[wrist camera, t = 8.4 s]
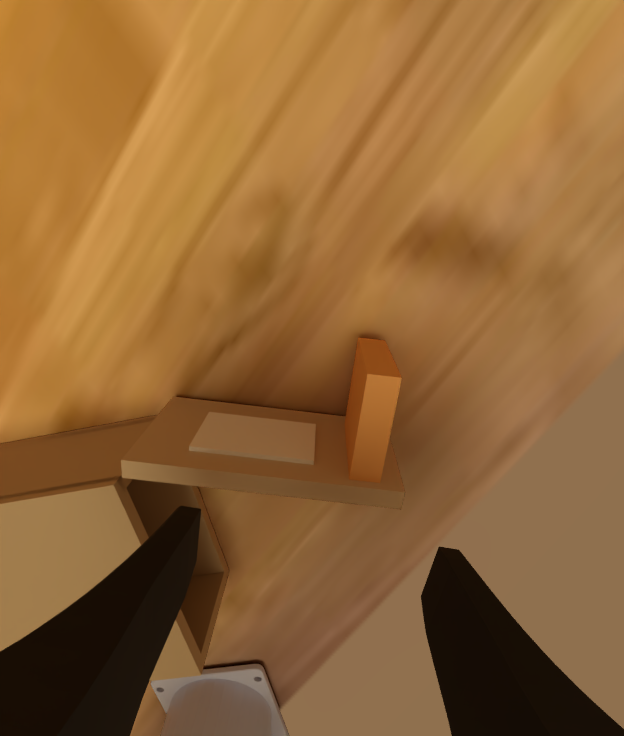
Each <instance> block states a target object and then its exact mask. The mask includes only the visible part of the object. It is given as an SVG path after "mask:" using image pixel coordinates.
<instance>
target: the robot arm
mask: <svg viewBox="0 0 624 736" xmlns="http://www.w3.org/2000/svg"><path fill="white" fill-rule="evenodd" d="M200 518H201V509H199V508H193V507H187V506H179V507H178V508H177V509H176V510H175V511H174V512H173V513H172V514H171V515H170V516H169V517H168V519H167V520H166V521H165V522H164V523H163V524H162V525H161V526H160V527H159V528H158V529H157V530H156V531H155V532H154V533H153V534H152V535H151V536H150V537H149V538H148V539H147V540H146V541H145V542H144V543H143V544H142V545H141V546H140V547H139V548H138V549H137V550H136V551H135V552H134V553H133V554H131V555H130V556H129V557H128V558H127V559H126V560H125V561H124V562H123V563H122V564H120V565H119V566H118V567H117V568H116V569H115V570H113V571H112V572H111V573H110V574H109V575H108V576H106V577H105V578H104V579H103V580H102V581H101V582H99V583H98V584H97V585H96V586H94V587H93V588H92V589H91V590H90V591H88V592H87V593H86V594H84V595H83V596H82V597H80V598H79V599H78V600H76V601H75V602H74V603H72V604H71V605H70V606H68V607H67V608H66V609H64V610H63V611H62V612H60V613H59V614H57V615H56V616H54V617H53V618H51V619H50V620H49V621H47V622H46V623H44V624H43V625H41V626H40V627H38V628H37V629H35V630H34V631H32V632H31V633H29V634H28V635H26V636H25V637H23V638H22V639H20V640H18V641H17V642H15V643H13V644H12V645H10V646H9V647H7V648H5V649H4V650H2V651H0V736H130V733H131V730H132V727H133V724H134V721H135V718H136V715H137V713H138V710H139V707H140V704H141V701H142V698H143V695H144V693H145V690H146V688H147V685H148V683H149V680H150V678H151V675H152V673H153V671H154V668H155V666H156V664H157V661H158V659H159V657H160V655H161V652H162V650H163V648H164V645H165V643H166V641H167V638H168V636H169V634H170V631H171V629H172V627H173V625H174V622H175V620H176V618H177V615H178V613H179V610H180V608H181V606H182V603H183V601H184V599H185V596H186V593H187V590H188V587H189V584H190V581H191V577H192V574H193V571H194V568H195V565H196V561H197V550H198V539H199V529H200ZM421 600H422V608H423V616H424V622H425V629H426V635H427V639H428V643H429V647H430V651H431V655H432V659H433V663H434V667H435V670H436V675H437V678H438V682H439V685H440V690H441V694H442V697H443V702H444V705H445V709H446V713H447V717H448V721H449V725H450V730H451V734H452V736H624V729H623V728H622V727H621V726H620V725H618V724H617V723H616V722H615V721H614V720H613V719H612V718H611V717H609V716H608V715H607V714H606V713H605V712H604V711H603V710H602V709H601V708H600V707H598V706H597V705H596V704H595V703H594V702H593V701H592V700H591V699H590V698H589V697H587V695H586V694H584V693H583V692H582V691H581V690H580V689H579V688H578V687H577V686H576V685H575V684H574V683H573V682H572V681H571V680H570V679H569V678H568V677H567V676H566V675H565V674H564V673H563V672H562V671H561V670H560V669H559V668H558V667H557V666H556V665H555V664H554V663H553V662H552V660H551V659H550V658H549V657H548V656H547V655H546V654H545V653H544V652H543V651H542V650H541V649H540V648H539V646H538V645H537V644H536V643H535V642H534V641H533V640H532V639H531V638H530V636H529V635H528V634H527V633H526V632H525V631H524V630H523V629H522V627H521V626H520V625H519V624H518V623H517V622H516V620H515V619H514V618H513V617H512V616H511V614H510V613H509V612H508V611H507V610H506V608H505V607H504V606H503V605H502V604H501V602H500V601H499V600H498V599H497V597H496V596H495V595H494V594H493V592H492V591H491V590H490V589H489V587H488V586H487V585H486V584H485V582H484V581H483V580H482V578H481V577H480V576H479V575H478V574H477V572H476V571H475V570H474V568H473V567H472V566H471V564H470V563H469V562H468V561H467V560H466V558H465V557H464V556H463V554H462V553H461V552H460V551H459V550H457V549H451V548H444V547H439V548H438V551H437V554H436V556H435V559H434V562H433V564H432V567H431V570H430V573H429V575H428V578H427V581H426V584H425V587H424V589H423V592H422V595H421ZM151 686H152V688H153V690H154V692H155V693H156V695H157V697H158V699H159V701H160V703H161V705H162V707H163V709H164V710H165V712H166V714H167V715H166V718H165V721H164V725H163V728H162V731H161V734H160V736H289V733H288V731H287V728H286V726H285V723H284V720H283V718H282V715H281V712H280V710H279V707H278V704H277V702H276V699H275V696H274V694H273V691H272V688H271V686H270V683H269V681H268V678H267V675H266V673H265V670H264V668H263V666H262V665H260V664H248V665H239V666H230V667H221V668H213V669H204V670H203V671H202V674H201V675H200V676H191V677H182V678H173V679H164V680H155V681H151Z"/></svg>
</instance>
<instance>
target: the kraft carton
mask: <svg viewBox="0 0 624 736" xmlns="http://www.w3.org/2000/svg"><path fill="white" fill-rule="evenodd" d="M157 416H158V415H154V416H149V417H143V418H138V419H133V420H127V421H122V422H116V423H111V424H106V425H100V426H95V427H89V428H84V429H78V430H73V431H68V432H62V433H57V434H51V435H46V436H41V437H35V438H30V439H24V440H19V441H14V442H8V443H3V444H0V651H2V650H4V649H5V648H7V647H9V646H10V645H12V644H13V643H15V642H17V641H18V640H20V639H22V638H23V637H25V636H26V635H28V634H29V633H31V632H32V631H34V630H35V629H37V628H38V627H40V626H41V625H43V624H44V623H46V622H47V621H49V620H50V619H51V618H53V617H54V616H56V615H57V614H59V613H60V612H62V611H63V610H64V609H66V608H67V607H68V606H70V605H71V604H72V603H74V602H75V601H76V600H78V599H79V598H80V597H82V596H83V595H84V594H86V593H87V592H88V591H90V590H91V589H92V588H93V587H94V586H96V585H97V584H98V583H99V582H101V581H102V580H103V579H104V578H105V577H106V576H108V575H109V574H110V573H111V572H112V571H113V570H115V569H116V568H117V567H118V566H119V565H120V564H122V563H123V562H124V561H125V560H126V559H127V558H128V557H129V556H130V555H131V554H133V553H134V552H135V551H136V550H137V549H138V548H139V547H140V546H141V545H142V544H143V543H144V542H145V541H146V540H147V539H148V538H149V537H150V536H151V535H152V534H153V533H154V532H155V531H156V530H157V529H158V528H159V527H160V526H161V525H162V524H163V523H164V522H165V521H166V520H167V519H168V517H169V516H170V515H171V514H172V513H173V512H174V511H175V510H176V509H177V508H178V507H179V506H187V507H193V508H199V509H201V518H200V529H199V539H198V550H197V561H196V565H195V568H194V571H193V574H192V577H191V581H190V584H189V587H188V590H187V593H186V596H185V599H184V601H183V603H182V606H181V608H180V610H179V613H178V615H177V618H176V620H175V622H174V625H173V627H172V629H171V631H170V634H169V636H168V638H167V641H166V643H165V645H164V648H163V650H162V652H161V655H160V657H159V659H158V661H157V664H156V666H155V668H154V671H153V673H152V675H151V678H150V680H149V681H155V680H164V679H173V678H182V677H191V676H200V675H201V674H202V671H203V667H204V663H205V659H206V656H207V652H208V648H209V645H210V641H211V637H212V634H213V630H214V626H215V622H216V619H217V615H218V611H219V608H220V604H221V600H222V597H223V593H224V589H225V585H226V582H227V578H228V574H229V569H228V566H227V564H226V561H225V558H224V556H223V553H222V550H221V548H220V545H219V542H218V540H217V537H216V534H215V532H214V529H213V526H212V524H211V521H210V518H209V516H208V513H207V510H206V508H205V505H204V502H203V500H202V497H201V494H200V492H199V489H198V486H190V485H181V484H173V483H164V482H155V481H146V480H137V479H129V478H122V469H121V459H122V458H123V457H124V456H125V454H126V453H127V452H128V451H129V450H130V448H131V447H132V446H133V445H134V444H135V442H136V441H137V440H138V439H139V437H140V436H141V435H142V434H143V433H144V431H145V430H146V429H147V428H148V427H149V425H150V424H151V423H152V422H153V421H154V419H155V418H156V417H157Z"/></svg>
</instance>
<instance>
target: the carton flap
mask: <svg viewBox="0 0 624 736" xmlns="http://www.w3.org/2000/svg"><path fill="white" fill-rule="evenodd" d="M401 380H402V377H401V375H400V373H399V370H398V368H397V366H396V364H395V362H394V359H393V357H392V355H391V353H390V351H389V348H388V346H387V344H386V342H385V340H377V339H368V338H360V337H358V342H357V348H356V355H355V361H354V367H353V373H352V380H351V386H350V392H349V399H348V405H347V411H346V416H337V415H329V414H320V413H311V412H303V411H294V410H285V409H277V408H268V407H259V406H251V405H242V404H233V403H225V402H216V401H208V400H199V399H190V398H182V397H173V398H172V399H171V400H170V401H169V402H168V404H167V405H166V406H165V407H164V408H163V410H162V411H161V412H160V413H159V414H158V416H157V417H156V418H155V419H154V421H153V422H152V423H151V424H150V425H149V427H148V428H147V429H146V430H145V431H144V433H143V434H142V435H141V436H140V437H139V439H138V440H137V441H136V442H135V444H134V445H133V446H132V447H131V448H130V450H129V451H128V452H127V453H126V454H125V456H124V457H123V458H122V459H121V469H122V478H129V479H137V480H146V481H155V482H164V483H173V484H181V485H190V486H199V487H208V488H217V489H225V490H234V491H243V492H252V493H261V494H269V495H278V496H287V497H296V498H305V499H313V500H322V501H331V502H340V503H349V504H357V505H366V506H375V507H384V508H393V509H401V508H402V504H403V500H404V495H405V490H404V486H403V483H402V479H401V476H400V472H399V468H398V465H397V461H396V458H395V454H394V451H393V447H392V443H391V440H390V433H391V428H392V423H393V419H394V414H395V409H396V404H397V399H398V394H399V390H400V385H401Z"/></svg>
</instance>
